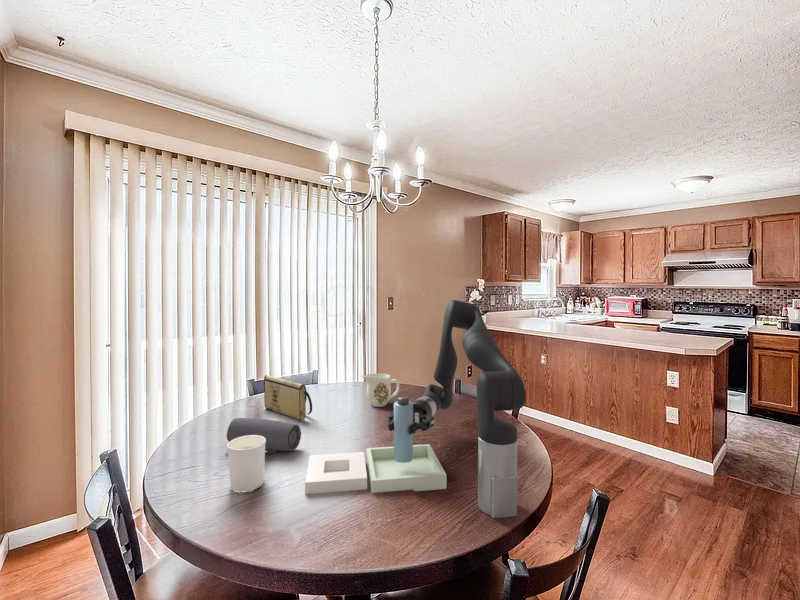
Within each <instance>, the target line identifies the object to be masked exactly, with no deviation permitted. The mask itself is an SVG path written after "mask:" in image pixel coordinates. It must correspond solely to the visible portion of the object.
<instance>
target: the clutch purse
mask: <svg viewBox="0 0 800 600" xmlns="http://www.w3.org/2000/svg"><path fill="white" fill-rule="evenodd" d="M263 386H264V388H263V389H264V390H263V391H264V392H263V393H264V395H263V396H264V399H263V401H264V407H265V409H266V408H268V410H270V411H274V412H276V413H279V414H282V415H285V416H287V415H288V417H290V418H293V419H297V420H299V421H301V422H303V421H302V420H304V421H305V419H306V415H310V414H312V412H313V402H312V399H311V396H310V394H309V393H308V391H307V387H306V385H305V384H302V383H299V382H295V381H290V380H287V379H284V378H279V377H276V376H271V375H268V374H266V375H264V377H263ZM307 400H308V404H309V412H308V413H306V409H307V407H306V406H307V405H306V403H307Z"/></svg>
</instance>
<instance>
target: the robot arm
mask: <svg viewBox="0 0 800 600" xmlns="http://www.w3.org/2000/svg"><path fill="white" fill-rule="evenodd" d="M454 328H456V329H462V330H466V332H465V334H464V335H463V337H462V341H461V342H462V343H461V344H462V347H463V348H462V349H463V350H464V353H465V355H466V357H467V359H468V361H469V362H470V363H471V364H472V365H474V367H476V368H478V369H480V370H481V371H483V372H480V373H479V375H478V377H477V380H476V400H477V401H476V402H477V403H476V405H477V406H476V407H477V431H478V433H477V437H478V438H477V439H478V440H477V441H478V443H477V447H478V449H477V470H478V471H477V507H478V508H479V509H480V510H481V512H483V513H484V514H487V515H488V516H490V517H491V518H492V519H500V518H510V517H511V518H512V517H517V516H518V429H517V427H516V426H515V425H514V424H512V423H511V422H509V421H506V420H505V419H501V418H498V417H496V416H495V412H500V411H501V412H504V411H505V412H507V411H517V410H520V409H521V408H523V407H524V406H525V404H526V402H527V389H526V387H525V383H524V382H523V380H522V377H521V376H520V374H519V372H518V371H517V370H516V369H515V368H514V366H513V365H512V364H511V363H510V362H509V361H508V359H507V358H506V357H505V355H504V354H503V352H502V351H501V349H500V348H499V346H498V344H497V341H496V340H495V338H494V337H493V335H492V334H491V332H490V331H489V329H488V327H487V325H486V323H485V321H484V319H483V316H482V314H481V311H480V309H479V307H478V306H477V305H476V304H474V303H472V302H467V301H463V300H462V301H461V300H458V299H457V300H456V299H451V300H449V302H448V303H447V305H446V307H445V311H444V316H443V323H442V331H441V336H440V337H441V338H440V347H439V352H438V358H437V362H436V366H435V369H434V373H433V379H434V380H435V382H437V383H438V384H440V385H441V386H439V385H438V384H437V385H436V384H433V383H431V384H428V385H427V386H426V387H425V390H424V393H423V395H422V396H421V397H419V398H417V399H416V400H414V401H412V403H413V424H411V425H410V426H409V429H408V432H409V434H410V435H412V434H413V435H414V433H416V432H418V431H420V430H421V431H422V432H426V431H427V430H429V429H430V428H432V427H434V425H435V417H434V416H435V414H436V413H437V412H438V411H439V410H440V409H441V410H448V409H449V408H450V407H451V406H452V404H453V400H454V392H453V391H454V390H453V387H454V386H453V385H454V379H455V378H454V377H455V374H456V371H457V368H458V355H457V351H456V349H455V346H454V342H453V335H452V334H453V333H452V332H453V329H454ZM387 424H388V425H387V426H388V428H387V429H388V431H389V432H392V431H393V432H394V410H393V411H392V412H391V413H390V414H389V416H388V423H387Z"/></svg>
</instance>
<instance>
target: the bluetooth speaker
mask: <svg viewBox="0 0 800 600" xmlns="http://www.w3.org/2000/svg"><path fill="white" fill-rule="evenodd" d="M300 427H301V426H300V425H299V424H297V423H292V422H289V421H288V422H287V421H281V420H276V419H275V420H274V419H265V418H253V417H251V418H250V417H236V418H233V419H232V420H231V421H230V422H229V425H228V428H227V432H226V439H227V441H228V443H229V442H230V441H231V440H233V439H235V438H238V437H242V436H248V435H259V436H263V437H265V439H266V447H265V451H267V452H275V453H276V452H293V451H295V450H296V449H297V448H299V444H300V442H301V438H302V431H301V430H302V429H301V428H300ZM267 452H266V453H267Z"/></svg>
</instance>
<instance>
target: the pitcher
mask: <svg viewBox="0 0 800 600" xmlns="http://www.w3.org/2000/svg"><path fill="white" fill-rule="evenodd" d="M361 377H362V379H365V381H366V382H367V384H366V395H367V398H368V401H369V404H370V405H371V406H372V407H375V408H381V407H383V408H384V407H385V406H387V405H388V403H389V401H390V399H392V398H396V396H397V395H398V393H400V382H399V381H398V379H395V378H393V379H391V375H390V374H388V373H369V374H365V375H361ZM392 383H395V384H396V390H395V392H393V393H392V386H391V384H392ZM391 393H392V394H391Z"/></svg>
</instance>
